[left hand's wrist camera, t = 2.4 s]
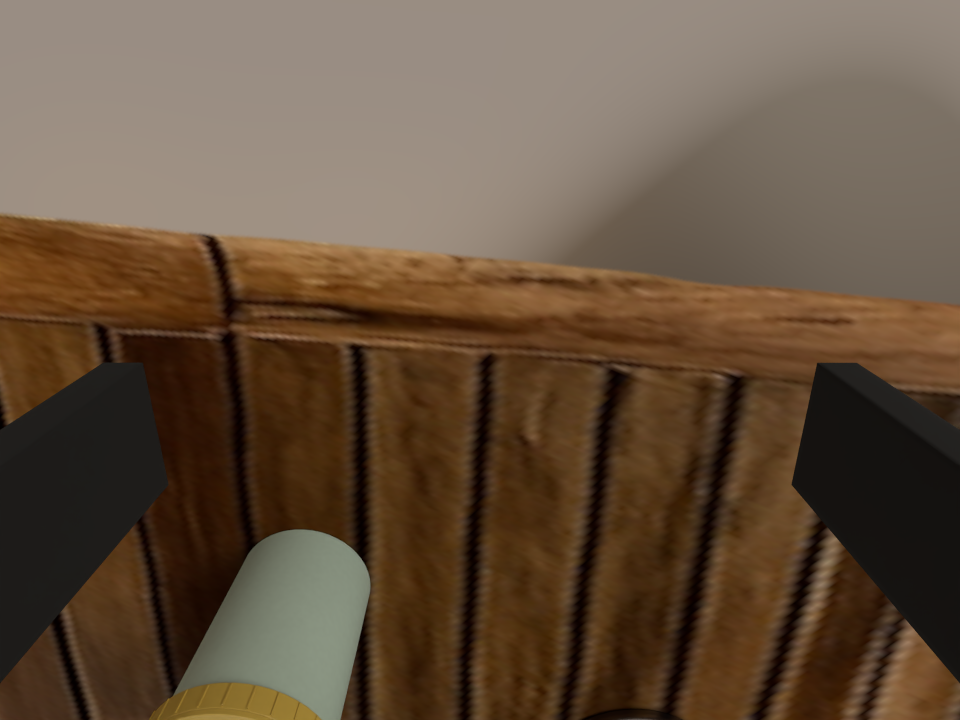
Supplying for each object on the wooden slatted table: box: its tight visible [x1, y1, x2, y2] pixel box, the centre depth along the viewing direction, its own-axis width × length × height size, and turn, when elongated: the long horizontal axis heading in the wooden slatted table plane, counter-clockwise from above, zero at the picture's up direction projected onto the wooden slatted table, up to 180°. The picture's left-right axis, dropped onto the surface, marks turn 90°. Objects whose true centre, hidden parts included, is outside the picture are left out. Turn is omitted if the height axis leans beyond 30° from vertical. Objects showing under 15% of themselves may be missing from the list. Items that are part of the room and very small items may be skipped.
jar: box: [173, 530, 370, 720], centre depth 41 cm, size 10×10×16 cm
